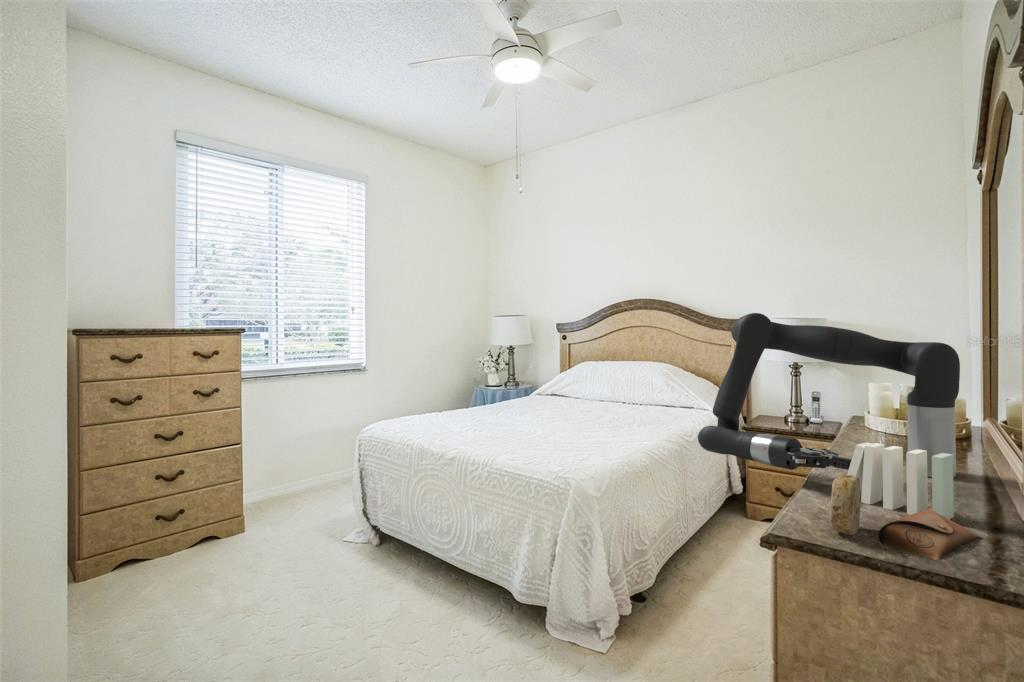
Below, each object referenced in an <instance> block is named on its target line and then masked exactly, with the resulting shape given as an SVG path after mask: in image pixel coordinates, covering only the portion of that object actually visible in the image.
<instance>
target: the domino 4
mask: <svg viewBox="0 0 1024 682" xmlns="http://www.w3.org/2000/svg"><path fill="white" fill-rule="evenodd" d="M905 453H906V455H905V456H906V459H905V461H906V468H905V469H906V514H907V515H912V514H914V513H918V512H921V511H924V510H926V509H927V508H929V507H928V505H929V501H928V500H929V499H928V498H929V495H928V494H929V493H928V490H929V489H928V486H929V485H928V476H927V451H926V450H919V449H916V450H913V451H909V452H908V451H907V452H905Z"/></svg>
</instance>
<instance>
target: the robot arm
mask: <svg viewBox="0 0 1024 682" xmlns="http://www.w3.org/2000/svg"><path fill="white" fill-rule="evenodd" d="M730 331H731V332H730V333H731V338H733V340H734V342H735V348H734V352H733V355H732V359H731V362H730V364H729V367H728V368H727V370H726V373H725V375H724V377H723V379H722V382H721V384H720V386H719V388H718V392H717V394H716V397H715V400H714V404H713V407H712V414H713V416H715V417H716V418H717V425H706V426H705V427H702V428H701V429H700V430H699V432H698V435H697V441H698V444H699V446H700V447H701V448H703V450H705V451H707V452H710V453H716V454H720V455H729V456H730V455H731V456H734V457H738V458H741V459H744V460H749V461H753V462H758V463H760V464H762V465H767V466H773V467H777V468H781V469H785V470H790V471H792V470H796V469H797V468H799V467H800V468H815V469H827V468H829V469H833V468H837V469H841V470H846V471H848V470H849V467H850V463H851V460H852V458H848V457H842V456H839V453H836V452H834V451H831V450H829V449H827V448H821V449H817V448H815V447H811V446H805V448H804V447H803V446H802V444H801V442H800V440H799V439H797V438H794V437H789V436H782V435H776V434H769V433H757V432H751V431H740V416H741V415H742V411H743V407H744V404H745V400H746V397H747V395H748V392H749V388H750V385H751V382H752V378H753V375H754V374H755V373H754V372H755V371H756V368H757V366H758V364H759V361H760V359H761V356H762V354H763V353H764V351H765V350H776V351H782V352H787V353H792V354H793V355H794V354H795V355H798V356H801V357H807V358H811V359H815V360H819V361H824V362H830V363H836V364H843V365H848V366H849V365H850V366H865V367H879V368H883V369H888V370H891V371H894V372H895V371H896V372H900V373H901V374H902V373H903V374H907V375H909V376H912V377H913V376H914V387H913V389H912V390H911V392H908V394H907V397H906V398H907V399H906V403H907V404H906V406H907V409H906V410H907V411H906V413H907V452H909V451H913V450H916V449H919V450H926V451H927V477H931V478H932V456H934V455H937V454H941V453H946V454H953V478H956V477H957V471H956V470H957V467H956V465H957V463H956V462H957V459H956V457H957V455H956V453H957V452H956V451H957V450H956V448H957V447H956V445H957V444H956V400H957V398H958V396H959V392H960V381H961V380H960V376H961V375H960V374H961V361H960V357H959V354H958V353H957V351H956V350H955V348H954V347H953V346H951V345H949V344H947V343H943V342H937V341H935V342H932V341H930V342H928V341H927V342H926V341H924V342H922V341H921V342H914V341H913V342H910V341H909V342H908V341H898V340H895V341H894V340H889V339H887V340H886V339H883V338H880V337H876V336H874V335H870V334H867V333H865V332H862V331H861V332H860V331H857V330H852V329H849V328H848V329H846V328H840V327H834V326H827V325H811V324H810V325H809V324H808V325H797V324H796V325H793V324H784V323H778V322H774V321H771V320H770V318H769V317H768V316H766V315H765V314H763V313H758V312H752V313H748V314H745V315H743V316H741V317H739V318H737V319H736V320H735V322H734V323H733V325H732V326H731V330H730Z"/></svg>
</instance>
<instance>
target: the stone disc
mask: <svg viewBox="0 0 1024 682" xmlns="http://www.w3.org/2000/svg"><path fill="white" fill-rule="evenodd" d="M861 504H862V502H861V494H860V480H859V478H858V477H856V476H852V475H847V474H841V475H839V476H837V477H835V479H834V480H833V481H832V485H831V498H830V509H829V510H830V511H829V518H830V524H831V528H832V530H834V531H836V532H839V533H843V534H845V535H849V536H853V535H854V536H855V535H856V534H857V533H858V530H859V526H860V516H861V508H862V505H861Z"/></svg>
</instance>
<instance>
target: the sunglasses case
mask: <svg viewBox="0 0 1024 682" xmlns="http://www.w3.org/2000/svg"><path fill="white" fill-rule="evenodd" d="M980 537H981V536H980V535H979V534H977V533H975V532H973V531H972V530H970V529H967V528H965V527H964V526H962V525H960V524H959V523H956V522H954V521H953V520H951V519H950V520H949V519H947V518H946V517H944V516H942V515H940V514H938V513H936V512H935V511H934V510H933V509H932V507H931V506H929V507H928V508H927V509H926V510H924V511H921V512H918V513H914V514H912V515H910V514H908V515H906V516H904V517H901V518H899V519H898V520H894V521H890V522H888V523H886V524H884V525H883V526H882V527H881V528H880V529H879V530H878V536H877V538H878V541H879V542H880V544H881V545H884V546H887V547H890V548H893V549H897V550H901V551H903V552H904V551H905V552H908V553H912V554H915V555H919V556H922V557H925V558H931V559H933V560H936V561H939V560H942V558H944V556H945V555H946V554H948V553H950V552H952V551H953V550H956V549H958V548H959V547H961V546H963V545H965V544H967V543H969V542H972V541H975V540H979V539H980ZM978 538H979V539H978ZM974 539H975V540H974ZM971 540H972V541H971Z"/></svg>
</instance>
